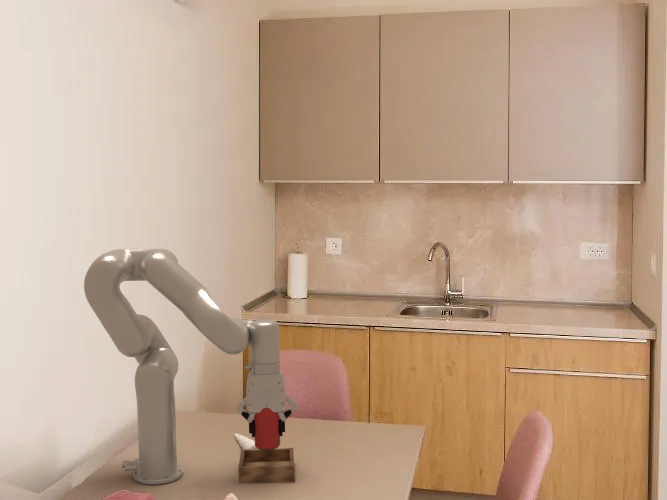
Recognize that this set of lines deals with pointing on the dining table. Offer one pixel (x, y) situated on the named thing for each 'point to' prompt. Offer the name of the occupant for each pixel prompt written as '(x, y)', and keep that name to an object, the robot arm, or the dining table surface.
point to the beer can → (267, 429)
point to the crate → (266, 465)
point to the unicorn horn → (245, 442)
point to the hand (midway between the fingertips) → (267, 434)
